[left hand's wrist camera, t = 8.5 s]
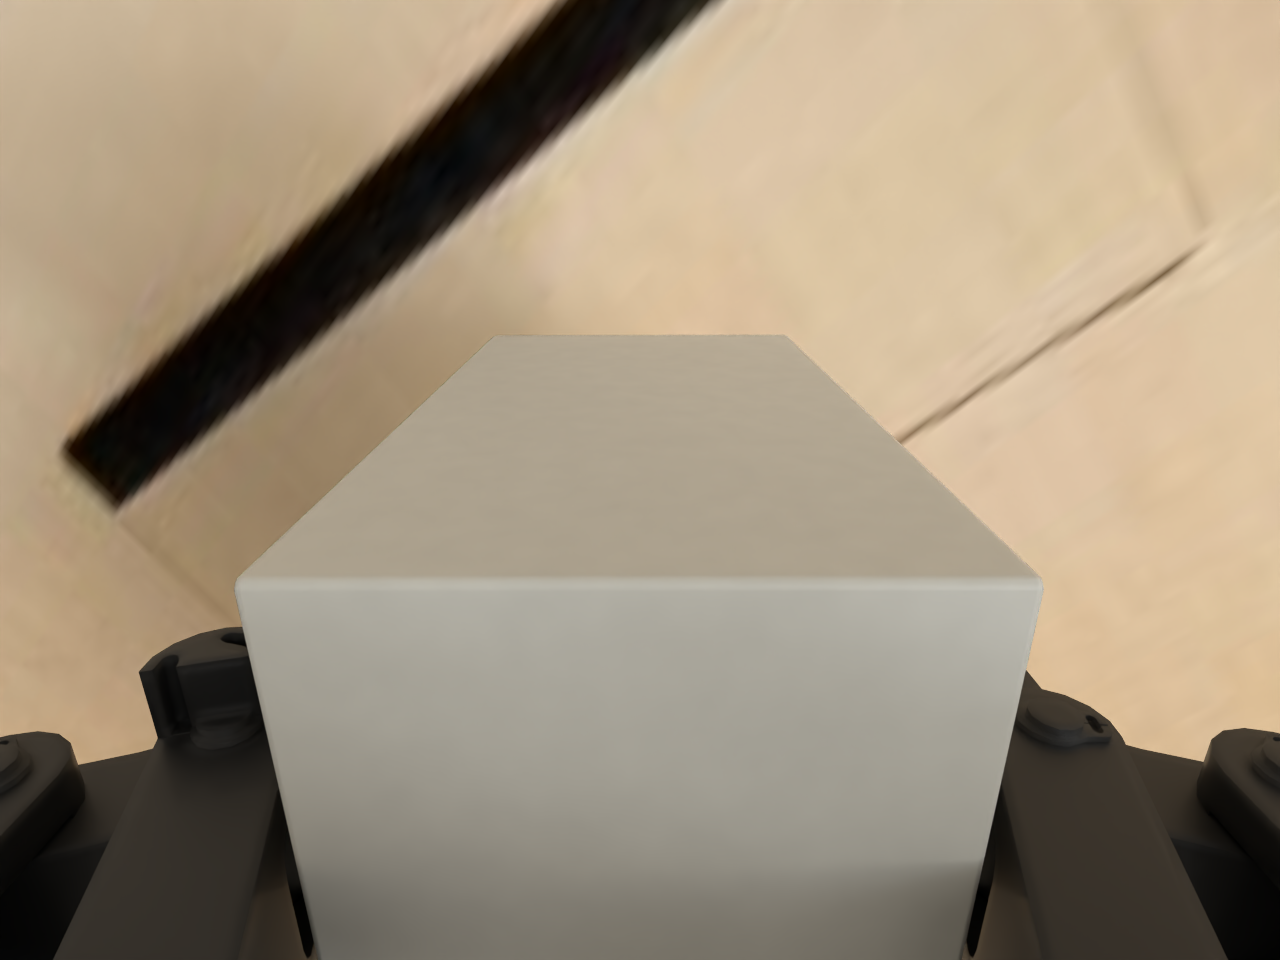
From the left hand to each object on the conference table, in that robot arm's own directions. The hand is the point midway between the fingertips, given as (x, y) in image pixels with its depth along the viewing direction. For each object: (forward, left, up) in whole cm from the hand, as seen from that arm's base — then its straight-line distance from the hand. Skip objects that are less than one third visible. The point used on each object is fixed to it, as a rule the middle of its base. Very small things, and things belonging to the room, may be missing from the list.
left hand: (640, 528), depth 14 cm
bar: (+9, 0, -1) cm, 9 cm away
